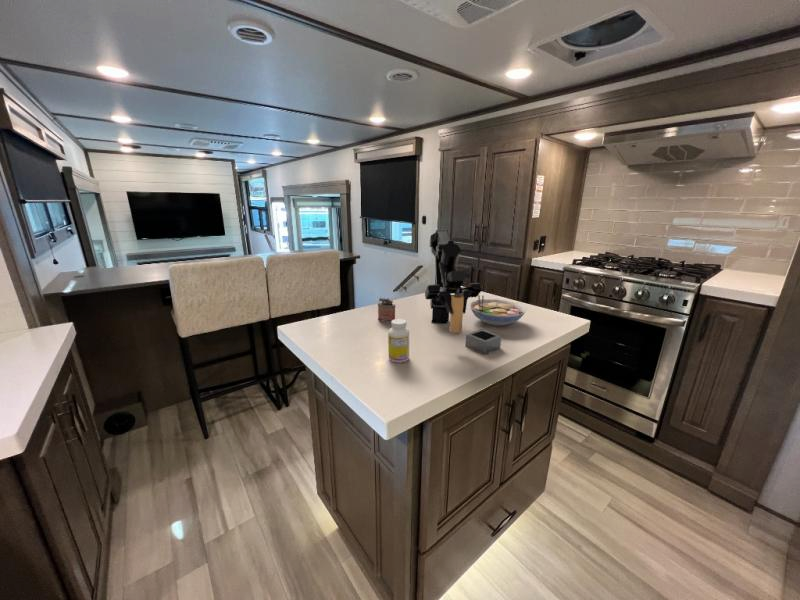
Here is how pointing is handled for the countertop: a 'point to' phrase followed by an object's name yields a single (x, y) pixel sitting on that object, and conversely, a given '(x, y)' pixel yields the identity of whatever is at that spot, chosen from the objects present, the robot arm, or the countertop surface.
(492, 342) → the grey square open block
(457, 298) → the plug
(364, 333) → the countertop surface
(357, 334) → the countertop surface
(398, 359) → the supplement bottle
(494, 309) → the ramen bowl
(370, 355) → the countertop surface
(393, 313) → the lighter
